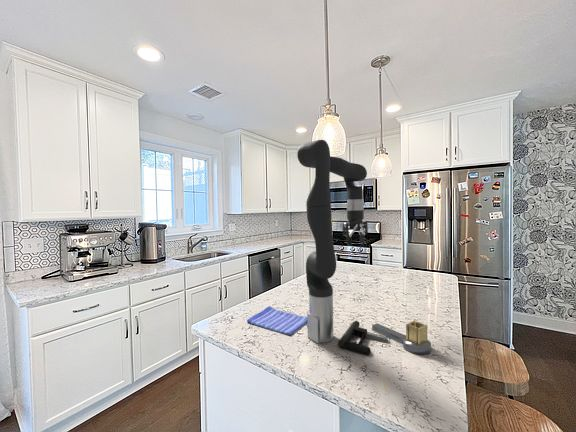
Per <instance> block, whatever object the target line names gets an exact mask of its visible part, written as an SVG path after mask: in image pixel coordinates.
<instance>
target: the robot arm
mask: <svg viewBox="0 0 576 432" xmlns="http://www.w3.org/2000/svg"><path fill="white" fill-rule="evenodd" d="M296 153H297V155H296V157H297V160H298V162H299V163H300V165H301V166H303V167H305V168H312V169H315V174H314V181H313V185H312V187H311V189H310V191H309V193H308V195H307V199H306V203H305V206H306V218H307V223H308V227H309V228H310V231H311V234H312V236H313V239H314V243H315V250H314V251H312V252H311V253H309V255H307V257H306V263H305V273H306V276H305V277H306V285H307V288H308V309H309V310H308V313H306V315H307V316H306V317H307V323H306V324H307V325H306V326H307V328H306V329H307V338H308V339H310V340H311V341H313V342H314V343H316V344H321V343H329V342H332V341H333V339H334V287H333V286H332V284H331V282H330V281H329V279H331V278H332V277H333V276H334V275H335V273H336V271H337V270H336V269H337V258H336V253H335V252H336V251H335V247H334V240H333V239H334V238H333V237H334V236H333V223H332V221H333V220H332V203H331V190H330V187H331V186H330V182H331V180H330V179H331V178H330V177H331V176H330V173H331V174H334V175H337V176H339V177H341V178H343V181H344V184H345V188H346V193H347V195H346V197H347V198H346V199H347V201H346V202H347V203H346V219H347V220H348V222H343V223H342V236H343V237H346V239H345V240H346V245H347V246H352V245H353V244H352V241H353V240H352V239H353V237H352V236H353V234H354V233H355V232H358V234H359V243H360V244H365V239H366V238H365V236H366V234H368V233H369V230H368V229H369V228H368V221H367V220H364V219H365V216H364V215H365V214H364V213H365V211H364V209H365V208H364V190H363V187H362V186H358V185H355V182H362V181H364V180H365V179H366V178H367V175H368V171H367V169H366V167H365V166H364V165H362V164H359V163H354V162H349V161H348V160H346V159H344V158H341V157H337V156H331V151H330V146H329V144H328V142H327V141H326V139H325V140H324V139H318V140H313V141H310V142H306V143H303V144H302V145H300V146H299V147H298V149H297V152H296Z"/></svg>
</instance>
